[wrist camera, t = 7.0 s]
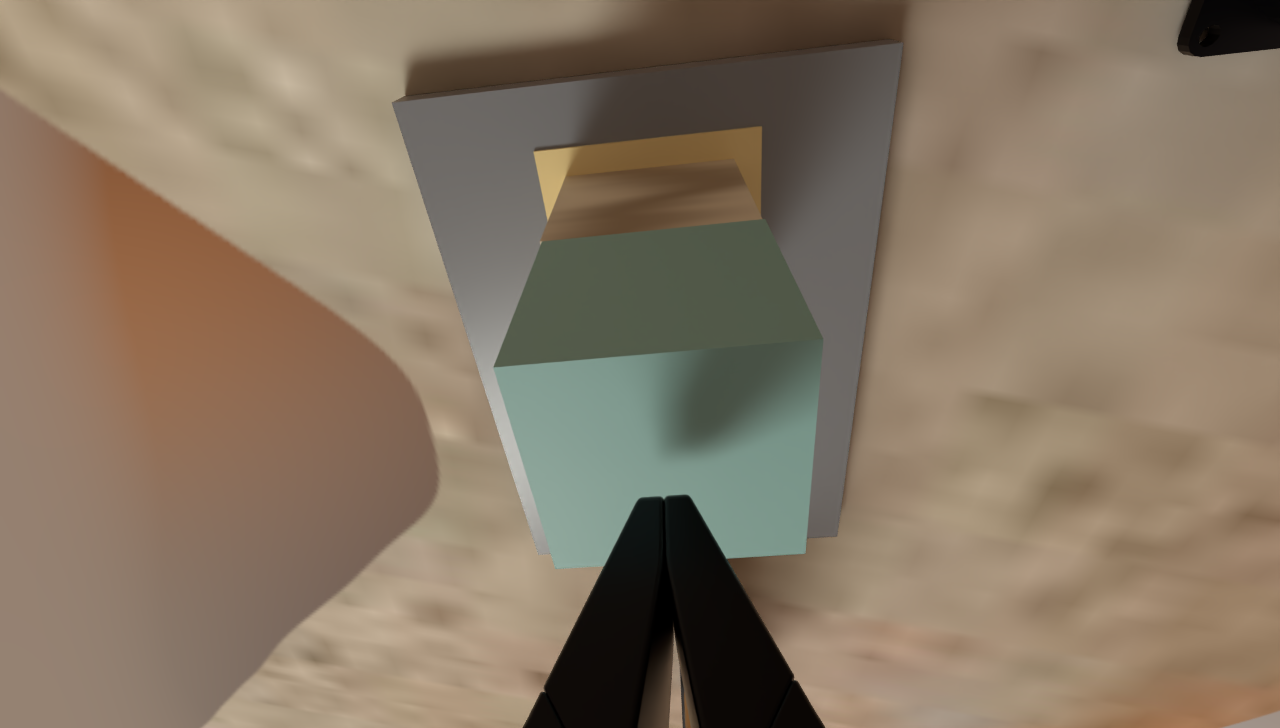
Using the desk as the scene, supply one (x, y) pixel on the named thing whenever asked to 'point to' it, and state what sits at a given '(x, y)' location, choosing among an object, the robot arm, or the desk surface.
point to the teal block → (665, 387)
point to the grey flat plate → (662, 136)
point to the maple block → (650, 200)
